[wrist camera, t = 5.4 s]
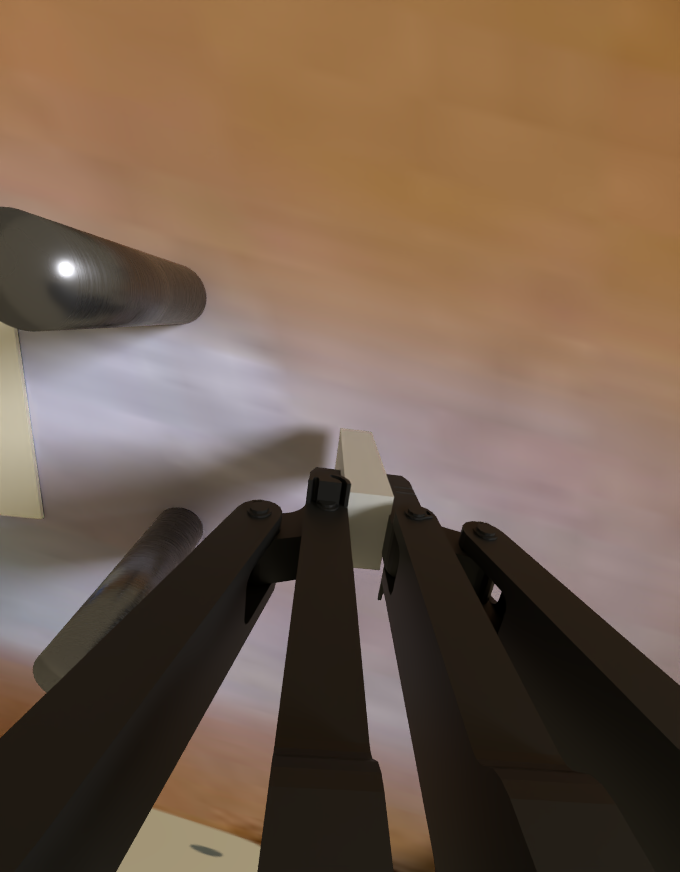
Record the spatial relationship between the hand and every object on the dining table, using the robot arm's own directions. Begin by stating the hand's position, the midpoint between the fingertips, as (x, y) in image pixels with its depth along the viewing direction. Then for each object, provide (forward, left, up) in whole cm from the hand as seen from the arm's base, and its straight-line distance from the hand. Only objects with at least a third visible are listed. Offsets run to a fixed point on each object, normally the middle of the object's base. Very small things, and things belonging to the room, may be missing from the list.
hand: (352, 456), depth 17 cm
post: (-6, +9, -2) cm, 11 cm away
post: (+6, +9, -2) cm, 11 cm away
